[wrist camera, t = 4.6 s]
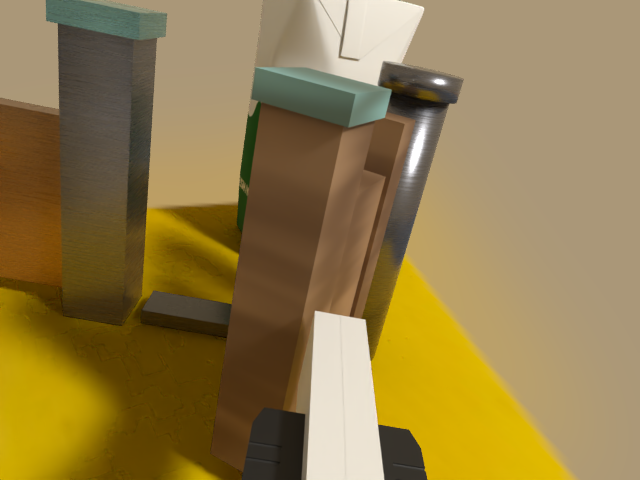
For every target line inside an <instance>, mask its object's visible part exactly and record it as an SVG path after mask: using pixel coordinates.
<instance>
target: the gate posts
mask: <svg viewBox="0 0 640 480" xmlns="http://www.w3.org/2000/svg"><path fill="white" fill-rule="evenodd" d="M46 20H47V21H50V22H54V23H58V59H59V109H55V108H49V107H44V106H39V105H34V104H29V103H24V102H18V101H13V100H9V99H4V98H0V277H4V278H10V279H16V280H22V281H28V282H33V283H39V284H45V285H51V286H57V287H62V300H63V316H68V317H74V318H80V319H86V320H92V321H98V322H103V323H109V324H115V325H121V326H122V325H123V323H124V322H125V320H126V319H127V317H128V316H129V314H130V313H131V311H132V310H133V308H134V307H135V305H136V304H137V302H138V301H139V299H140V298H141V296H142V281H143V264H144V247H145V230H146V213H147V196H148V179H149V162H150V144H151V128H152V110H153V93H154V77H155V60H156V43H157V38H159V37H165V35H166V20H167V13H163V12H158V11H154V10H149V9H144V8H140V7H135V6H130V5H125V4H120V3H116V2H111V1H106V0H46ZM463 80H464V79H463V78H460V77H457V76H454V75H450V74H447V73H443V72H439V71H435V70H431V69H426V68H422V67H417V66H412V65H407V64H402V63H397V62H391V61H383V62H382V66H381V71H380V75H379V79H378V83H377V85H378V86H379V87H383V88H387V89H391V90H392V91H391V95H390V99H389V103H388V107H387V111H386V112H388V113H392V114H396V115H399V116H403V117H407V118H410V119H414V120H416V121H415V125H414V129H413V132H412V136H411V140H410V143H409V147H408V151H407V154H406V158H405V162H404V165H403V169H402V173H401V176H400V180H399V184H398V187H397V191H396V194H395V198H394V202H393V205H392V209H391V213H390V216H389V220H388V224H387V227H386V231H385V235H384V238H383V242H382V246H381V249H380V253H379V257H378V260H377V264H376V268H375V271H374V275H373V279H372V282H371V286H370V290H369V293H368V297H367V301H366V304H365V308H364V311H363V315H362V319H364V320H366V328H367V337H368V345H369V354H370V361H371V360H372V359H373V358H374V356H375V352H376V349H377V345H378V342H379V339H380V335H381V332H382V329H383V325H384V322H385V318H386V315H387V312H388V308H389V305H390V302H391V298H392V295H393V291H394V288H395V285H396V281H397V278H398V275H399V271H400V268H401V265H402V261H403V258H404V254H405V251H406V248H407V244H408V241H409V238H410V234H411V231H412V227H413V224H414V221H415V217H416V214H417V211H418V207H419V204H420V200H421V197H422V193H423V190H424V187H425V184H426V180H427V177H428V173H429V170H430V167H431V163H432V160H433V156H434V153H435V150H436V147H437V143H438V140H439V136H440V133H441V130H442V126H443V123H444V119H445V116H446V113H447V110H448V106H449V103H452V104H454V103H457V100H458V97H459V94H460V90H461V87H462V83H463ZM231 307H232V304H227V303H221V302H216V301H210V300H204V299H198V298H193V297H187V296H181V295H175V294H170V293H164V292H158V291H153V293H152V294H151V296H150V298H149V299H148V301H147V302H146V304H145V306H144V307H143V309H142V312H141V323H145V324H151V325H157V326H162V327H168V328H174V329H180V330H186V331H192V332H198V333H204V334H209V335H215V336H221V337H227V335H228V328H229V321H230V314H231Z"/></svg>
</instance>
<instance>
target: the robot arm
mask: <svg viewBox="0 0 640 480" xmlns="http://www.w3.org/2000/svg"><path fill="white" fill-rule="evenodd" d="M424 469H425V466H424V461H423V457H422V452H421V448H420V446H419V445H418V443H417V442H416V440H415V439H414V437H413V435H412V434H411V432H410V431H409V430H407V429H401V428H395V427H389V426H383V425H378V422H377V413H376V405H375V396H374V388H373V379H372V371H371V362H370V354H369V345H368V337H367V328H366V320H364V319H359V318H353V317H347V316H342V315H336V314H331V313H325V312H319V311H315V312H314V317H313V321H312V326H311V330H310V334H309V339H308V343H307V348H306V352H305V357H304V361H303V365H302V370H301V374H300V379H299V383H298V393H297V404H296V412H290V411H284V410H278V409H272V408H266V407H264V408H263V409H262V411H261V412H260V413H259V415H258V416H257V417H256V418H255V420H254V421H253V422H252V427H251V433H250V438H249V443H248V449H247V454H246V459H245V464H244V470H243V475H242V480H427V476H426V472H425V470H424Z"/></svg>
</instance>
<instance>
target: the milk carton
mask: <svg viewBox="0 0 640 480" xmlns="http://www.w3.org/2000/svg"><path fill="white" fill-rule="evenodd" d="M423 12H424V7H421V6H418V5H414V4H411V3H407V2H403V1H401V0H263V5H262V13H261V22H260V30H259V38H258V45H257V52H256V59H255V67H306V68H310V69H314V70H318V71H321V72H325V73H329V74H333V75H337V76H341V77H345V78H349V79H352V80H356V81H360V82H364V83H368V84H372V85H376V86H378V85H377V83H378V79H379V75H380V71H381V66H382V62H383V61H391V62H397V63H402V60H403V58H404V56H405V53H406V51H407V49H408V47H409V44H410V42H411V40H412V37H413V35H414V33H415V30H416V28H417V26H418V24H419V21H420V19H421V17H422V14H423ZM255 67H254V74H255ZM254 74H253V81H254ZM252 88H253V82H252ZM251 96H252V89H251ZM260 108H261V102H259V101H256V100H253V99H251V97H250V104H249V112H248V119H247V126H246V134H245V141H244V148H243V156H242V163H241V171H240V183H239V200H238V216H237V226H238V227H239V229H240V230H241V232H243V225H244V218H245V211H246V204H247V197H248V191H249V184H250V177H251V170H252V163H253V156H254V149H255V143H256V136H257V129H258V122H259V115H260Z"/></svg>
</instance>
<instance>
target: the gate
mask: <svg viewBox="0 0 640 480" xmlns="http://www.w3.org/2000/svg"><path fill="white" fill-rule="evenodd" d="M391 91H392V90H391V89H387V88H383V87H379V86H376V85H372V84H368V83H364V82H360V81H356V80H352V79H349V78H345V77H341V76H337V75H333V74H329V73H325V72H321V71H318V70H314V69H310V68H306V67H255V74H254V81H253V88H252V96H251V99H253V100H256V101H259V102H261V108H260V115H259V122H258V129H257V136H256V143H255V149H254V156H253V163H252V170H251V177H250V184H249V191H248V197H247V204H246V211H245V218H244V225H243V232H242V239H241V246H240V252H239V259H238V266H237V273H236V280H235V287H234V294H233V300H232V307H231V314H230V321H229V328H228V335H227V342H226V349H225V355H224V362H223V369H222V376H221V383H220V390H219V397H218V403H217V410H216V417H215V424H214V431H213V438H212V445H211V452H210V454H212V455H214V456H215V457H217V458H219V459H220V460H222V461H224V462H226V463H227V464H229V465H231V466H232V467H234V468H236V469H238V470H239V471H241V472H243V470H244V464H245V459H246V454H247V449H248V443H249V438H250V433H251V427H252V422H253V421H254V420H255V418H256V417H257V416H258V415H259V413H260V412H261V411H262V409H263V408H264V407H266V408H272V409H278V410H284V411H290V412H296V404H297V393H298V383H299V379H300V374H301V370H302V365H303V361H304V357H305V352H306V348H307V343H308V339H309V334H310V330H311V326H312V321H313V317H314V312H315V311H319V312H325V313H331V314H336V315H342V316H347V317H353V318H359V319H362V315H363V311H364V308H365V304H366V301H367V297H368V293H369V290H370V286H371V282H372V279H373V275H374V271H375V268H376V264H377V260H378V257H379V253H380V249H381V246H382V242H383V238H384V235H385V231H386V227H387V224H388V220H389V216H390V213H391V209H392V205H393V202H394V198H395V194H396V191H397V187H398V184H399V180H400V176H401V173H402V169H403V165H404V162H405V158H406V154H407V151H408V147H409V143H410V140H411V136H412V132H413V129H414V125H415V121H416V120H414V119H410V118H407V117H403V116H399V115H396V114H392V113H388V112H386V111H387V107H388V103H389V99H390V95H391Z"/></svg>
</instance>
